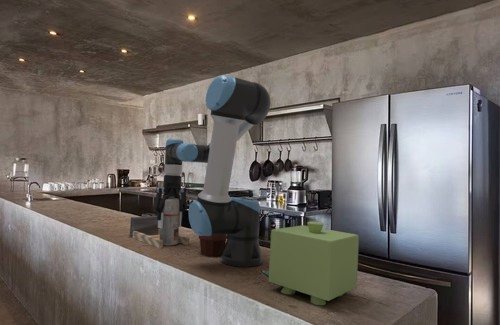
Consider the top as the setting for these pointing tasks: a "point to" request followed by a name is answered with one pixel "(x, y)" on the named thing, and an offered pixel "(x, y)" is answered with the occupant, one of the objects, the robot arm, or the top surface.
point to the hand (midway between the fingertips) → (169, 227)
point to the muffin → (212, 245)
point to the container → (314, 261)
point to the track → (150, 231)
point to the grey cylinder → (170, 222)
